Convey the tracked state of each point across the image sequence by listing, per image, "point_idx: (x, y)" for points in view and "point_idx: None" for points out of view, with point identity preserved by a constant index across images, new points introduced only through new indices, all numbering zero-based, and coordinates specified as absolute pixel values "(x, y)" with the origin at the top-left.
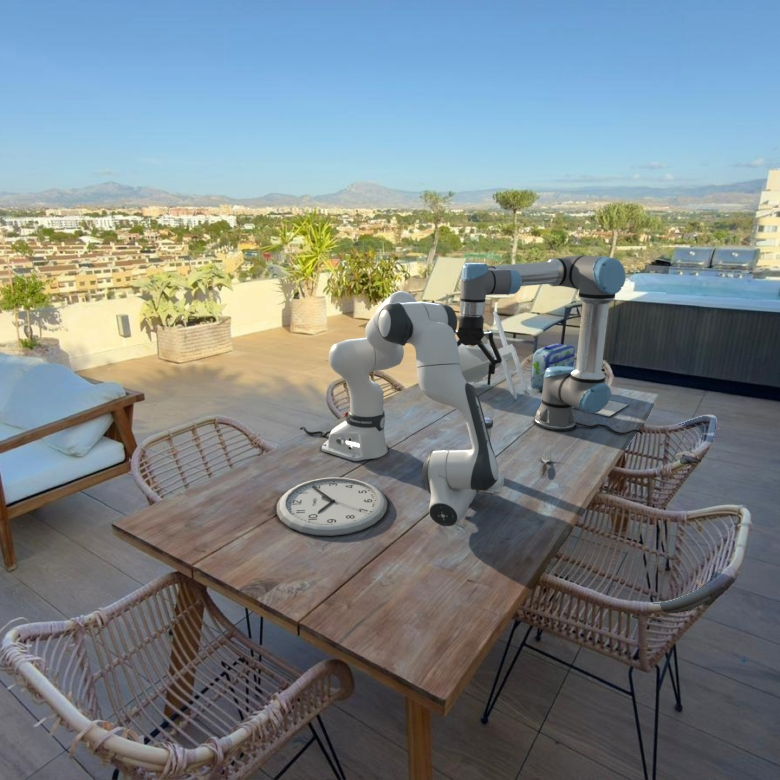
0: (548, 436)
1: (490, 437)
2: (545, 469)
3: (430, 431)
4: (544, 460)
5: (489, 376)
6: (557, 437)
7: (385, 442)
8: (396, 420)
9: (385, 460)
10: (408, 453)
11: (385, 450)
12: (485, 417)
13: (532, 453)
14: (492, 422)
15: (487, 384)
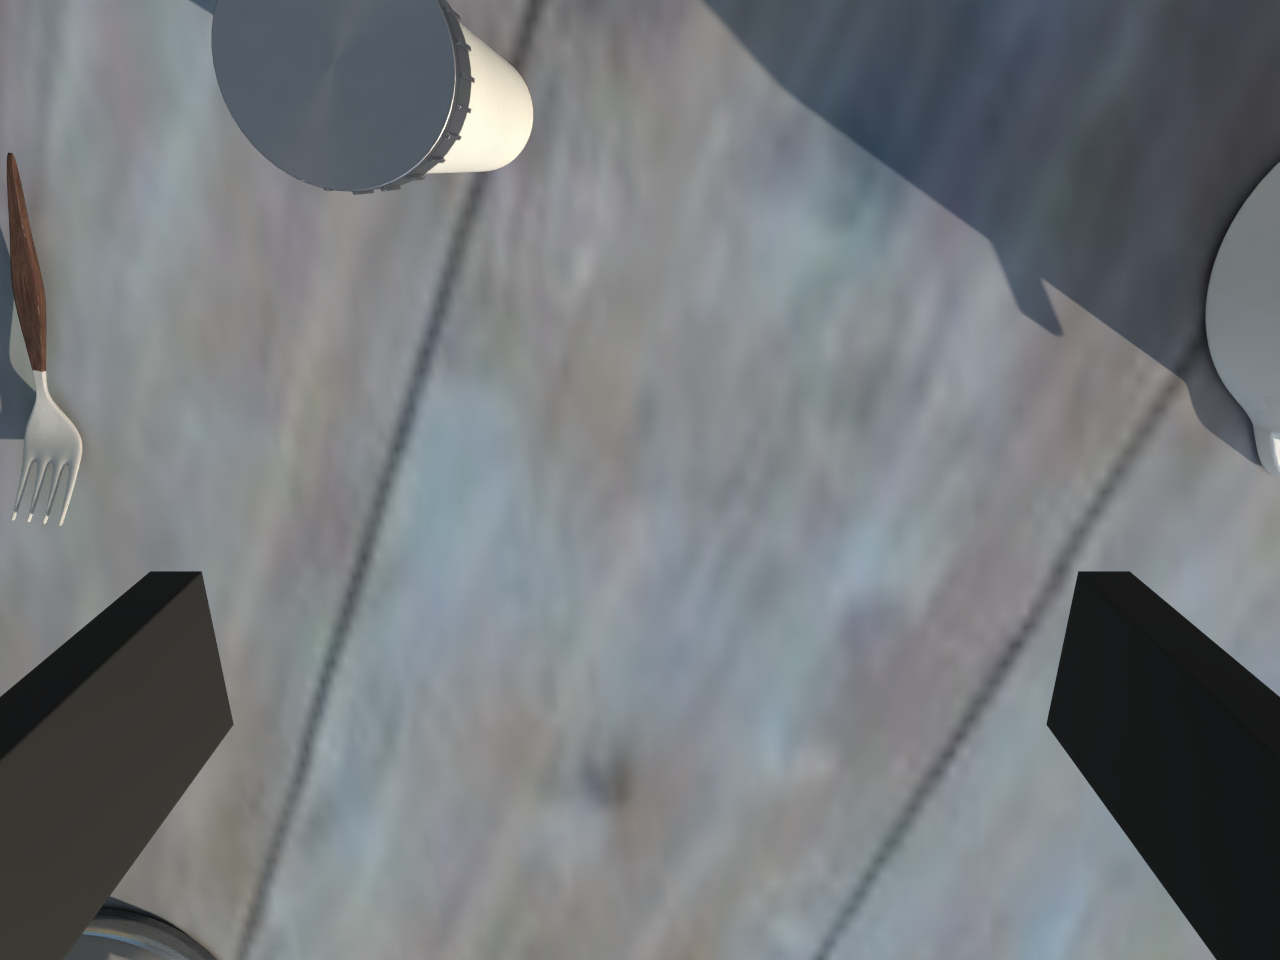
0: None
1: None
2: (10, 250)
3: (893, 719)
4: (59, 427)
5: (46, 678)
6: None
7: (1270, 317)
8: None
9: (1218, 135)
10: (1039, 313)
11: (1238, 258)
12: (336, 179)
13: (169, 540)
14: (217, 29)
15: (195, 576)
